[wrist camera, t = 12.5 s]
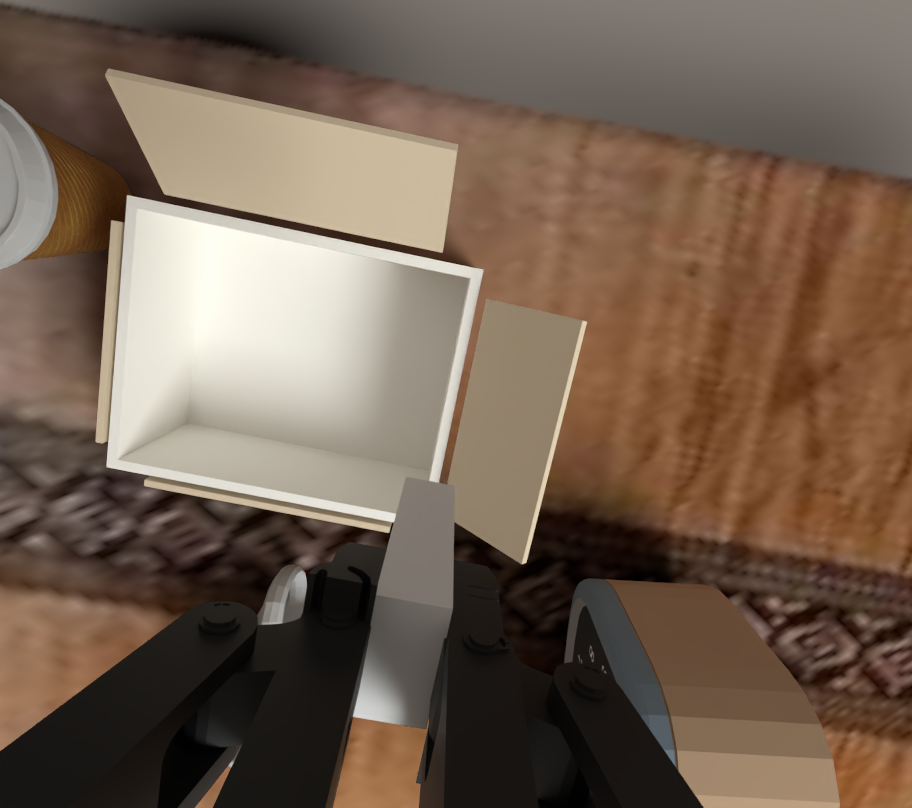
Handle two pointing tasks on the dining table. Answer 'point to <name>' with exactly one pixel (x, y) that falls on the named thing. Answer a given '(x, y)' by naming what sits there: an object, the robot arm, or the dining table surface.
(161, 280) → the carton
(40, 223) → the disposable coffee cup
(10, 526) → the dining table surface
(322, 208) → the long flap
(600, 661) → the alarm clock
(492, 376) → the short flap
